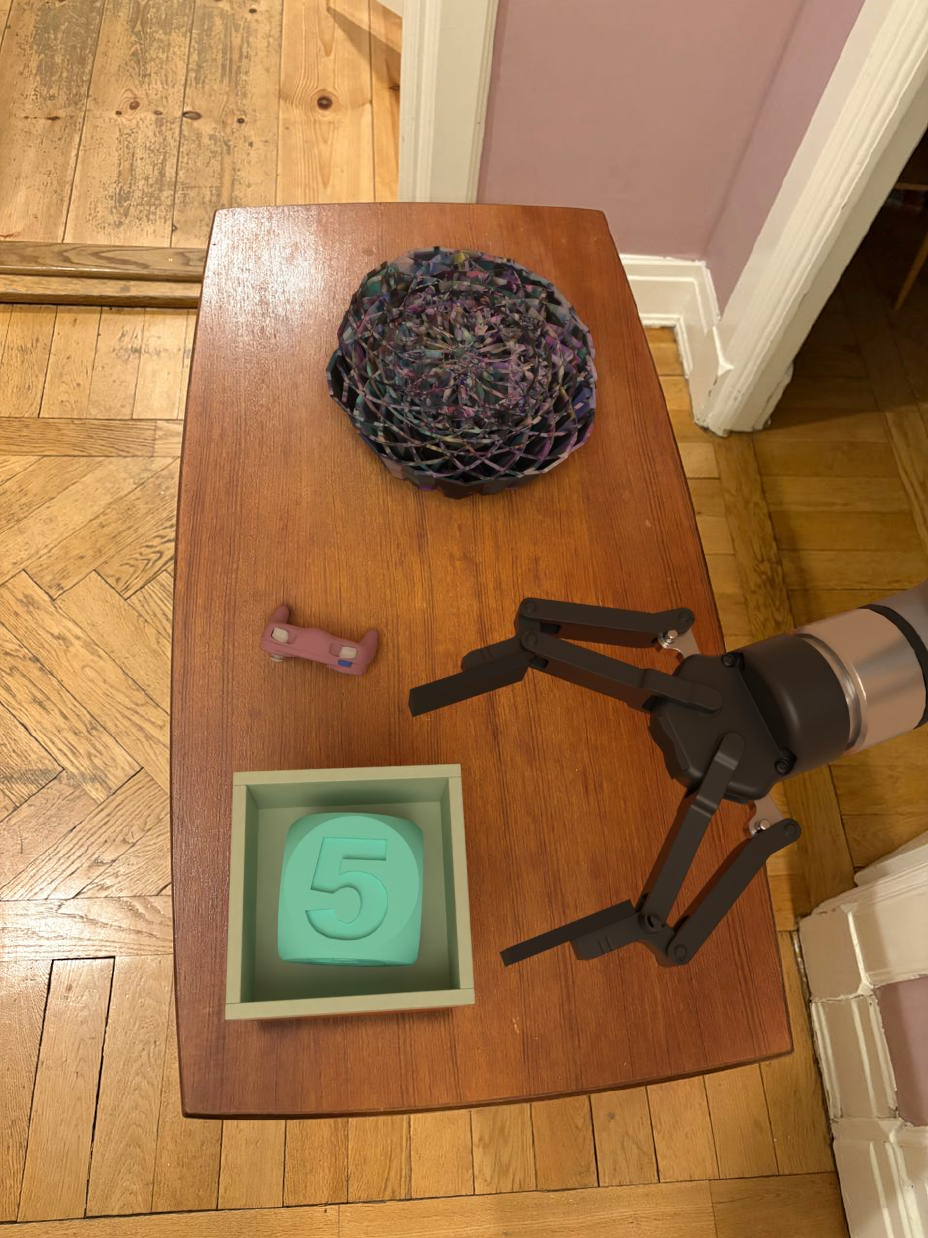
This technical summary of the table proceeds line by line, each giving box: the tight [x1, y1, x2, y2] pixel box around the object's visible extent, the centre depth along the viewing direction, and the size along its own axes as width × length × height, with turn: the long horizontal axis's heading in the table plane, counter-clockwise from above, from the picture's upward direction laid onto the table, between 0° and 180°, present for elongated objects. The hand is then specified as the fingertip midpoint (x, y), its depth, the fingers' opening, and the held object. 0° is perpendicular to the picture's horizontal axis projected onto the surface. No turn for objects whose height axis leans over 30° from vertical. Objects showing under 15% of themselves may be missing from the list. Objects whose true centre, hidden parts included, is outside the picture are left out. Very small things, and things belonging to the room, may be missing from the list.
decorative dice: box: [278, 813, 424, 967], centre depth 57 cm, size 8×8×8 cm
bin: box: [224, 763, 476, 1021], centre depth 58 cm, size 14×14×8 cm
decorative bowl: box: [325, 245, 599, 501], centre depth 93 cm, size 26×28×10 cm
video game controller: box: [258, 604, 379, 676], centre depth 82 cm, size 10×5×7 cm, turn 76°
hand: (455, 825), depth 48 cm, fingers open, 13 cm apart
